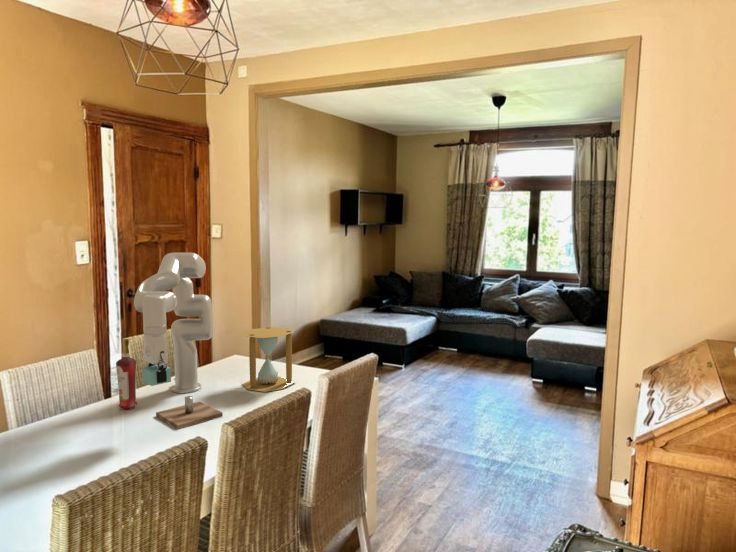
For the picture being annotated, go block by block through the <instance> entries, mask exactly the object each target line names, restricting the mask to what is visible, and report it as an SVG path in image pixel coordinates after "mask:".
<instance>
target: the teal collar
mask: <svg viewBox="0 0 736 552" xmlns="http://www.w3.org/2000/svg"><path fill="white" fill-rule="evenodd" d="M161 365H162V364H161ZM161 365H159V366H161ZM171 371H172V370H171V367H169V366H168V365H167V371H166V376H167V381H166V382H162V383H157V372H158V370H157V366H156V365H154V366H149V367H147V366H145V367H144V366H142V382H143V383H144V384H146V385H149V386H150V387H153V386H158V385H163V384H167V383H171V382H172V373H171Z"/></svg>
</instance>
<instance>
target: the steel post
mask: <svg viewBox="0 0 736 552" xmlns="http://www.w3.org/2000/svg"><path fill="white" fill-rule="evenodd" d="M193 403H194V397H193V396H192V395H187V396H185V397H184V405H185V413H186V414H191V413H193Z"/></svg>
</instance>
